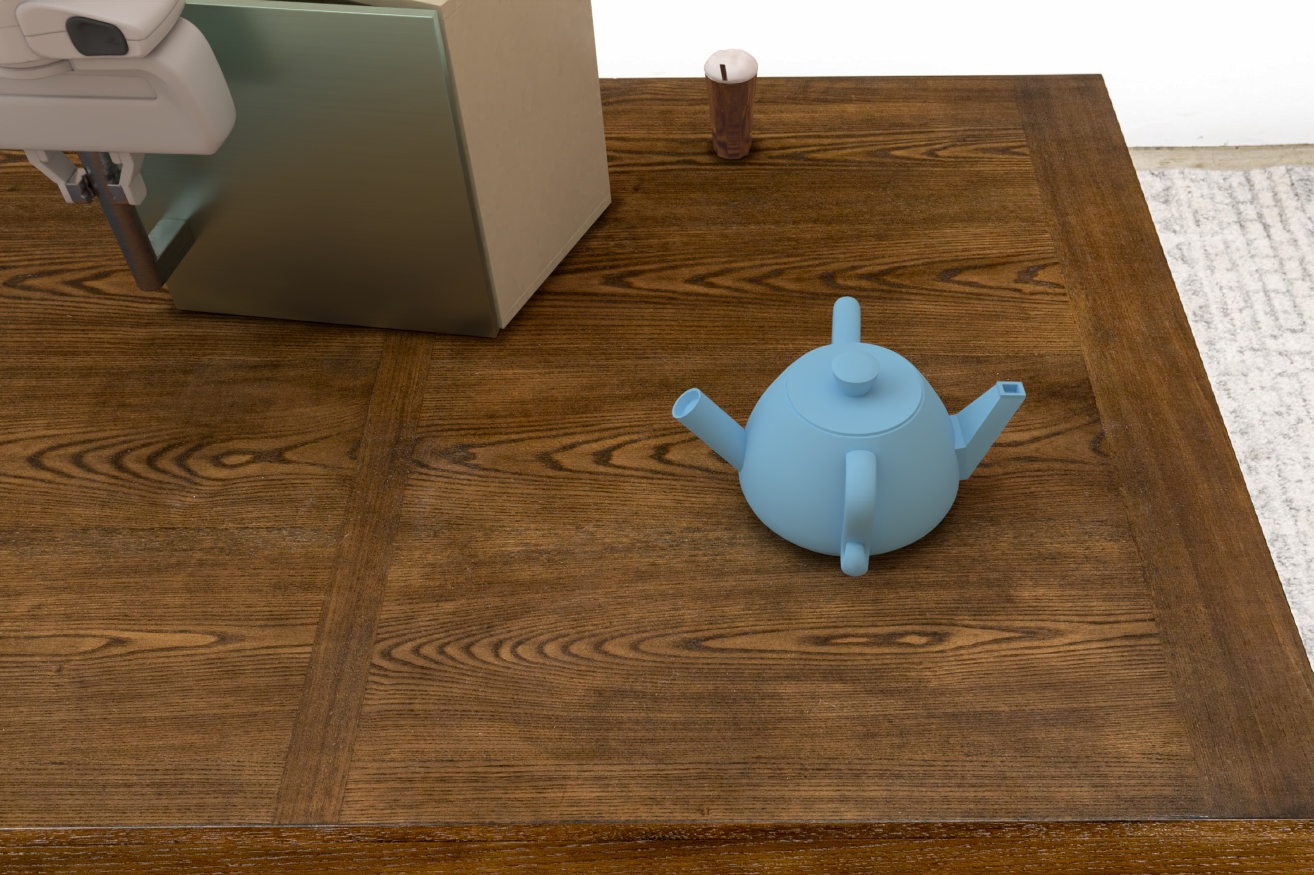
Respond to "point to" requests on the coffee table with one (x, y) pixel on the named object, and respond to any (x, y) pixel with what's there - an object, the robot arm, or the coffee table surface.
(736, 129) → the milkshake
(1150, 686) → the coffee table surface
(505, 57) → the box
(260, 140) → the fridge door
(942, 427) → the teapot
